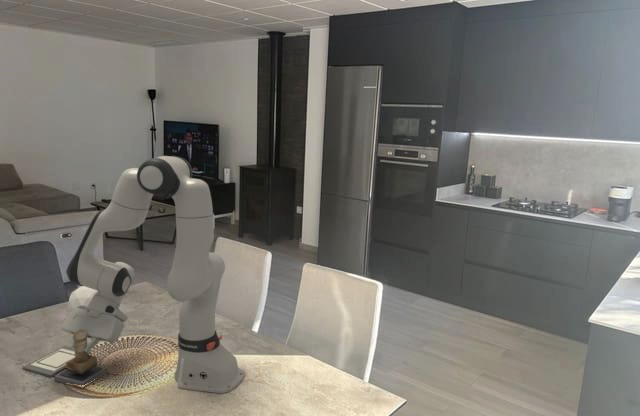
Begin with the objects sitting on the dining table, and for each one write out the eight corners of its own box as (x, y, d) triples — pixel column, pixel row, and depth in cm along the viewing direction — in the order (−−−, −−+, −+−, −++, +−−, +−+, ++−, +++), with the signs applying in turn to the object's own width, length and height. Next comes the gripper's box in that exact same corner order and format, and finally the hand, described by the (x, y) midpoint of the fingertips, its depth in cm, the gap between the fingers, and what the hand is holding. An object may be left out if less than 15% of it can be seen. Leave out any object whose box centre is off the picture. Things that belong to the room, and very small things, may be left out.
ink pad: (107, 372, 150) (106, 367, 150) (82, 388, 141) (81, 382, 141) (80, 365, 154) (80, 360, 153) (54, 380, 144) (54, 375, 144)
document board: (91, 354, 161) (91, 352, 161) (51, 377, 146) (50, 374, 146) (64, 347, 165) (64, 345, 165) (22, 369, 150) (22, 366, 150)
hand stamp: (97, 365, 149) (94, 328, 146) (82, 374, 143) (79, 336, 141) (82, 361, 150) (80, 325, 148) (67, 370, 145) (64, 332, 143)
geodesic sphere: (52, 305, 186) (67, 282, 181) (78, 294, 199) (93, 272, 194) (76, 331, 184) (92, 308, 180) (101, 318, 197) (117, 296, 193)
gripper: (71, 300, 153) (47, 341, 146) (121, 310, 147) (99, 353, 139) (83, 308, 158) (60, 348, 151) (132, 318, 152) (110, 360, 144)
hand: (79, 350), depth 145 cm, fingers closed on hand stamp, 4 cm apart
